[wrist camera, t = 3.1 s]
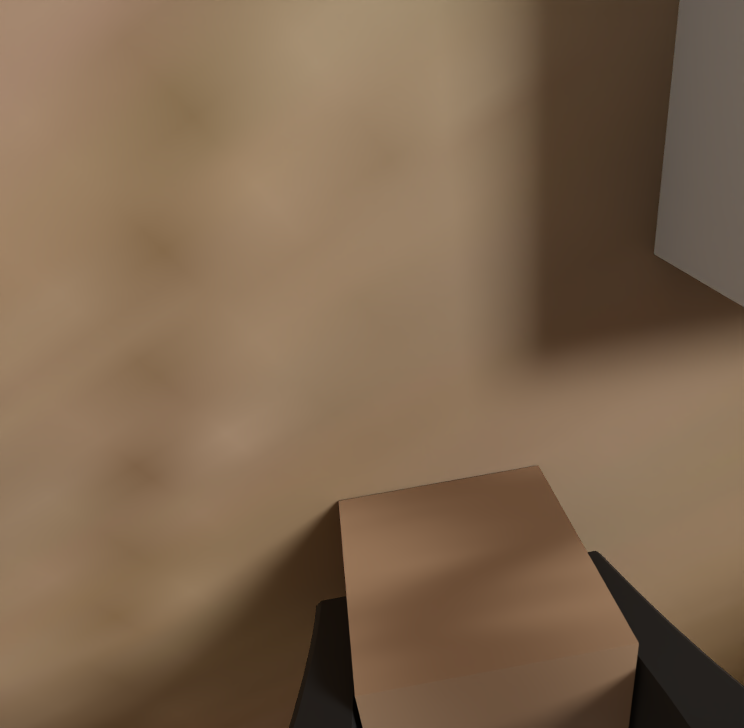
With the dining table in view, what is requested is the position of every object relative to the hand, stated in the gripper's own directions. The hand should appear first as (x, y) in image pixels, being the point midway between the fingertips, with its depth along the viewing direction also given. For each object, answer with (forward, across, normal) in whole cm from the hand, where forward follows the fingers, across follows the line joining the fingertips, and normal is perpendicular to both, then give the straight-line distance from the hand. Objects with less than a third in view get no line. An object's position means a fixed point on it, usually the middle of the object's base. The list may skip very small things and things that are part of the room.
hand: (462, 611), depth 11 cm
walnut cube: (+1, 0, 0) cm, 1 cm away
